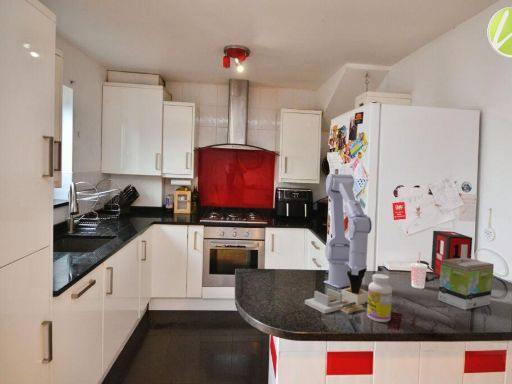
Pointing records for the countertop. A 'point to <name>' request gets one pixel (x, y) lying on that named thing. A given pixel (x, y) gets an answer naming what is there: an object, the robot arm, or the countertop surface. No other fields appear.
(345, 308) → the trough
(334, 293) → the white compartment tray
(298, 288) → the countertop surface
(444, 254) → the cleaning product box
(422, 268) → the beverage cup
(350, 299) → the white square open box
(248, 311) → the countertop surface
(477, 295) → the tea box
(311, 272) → the countertop surface
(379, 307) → the supplement bottle
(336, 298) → the pad
